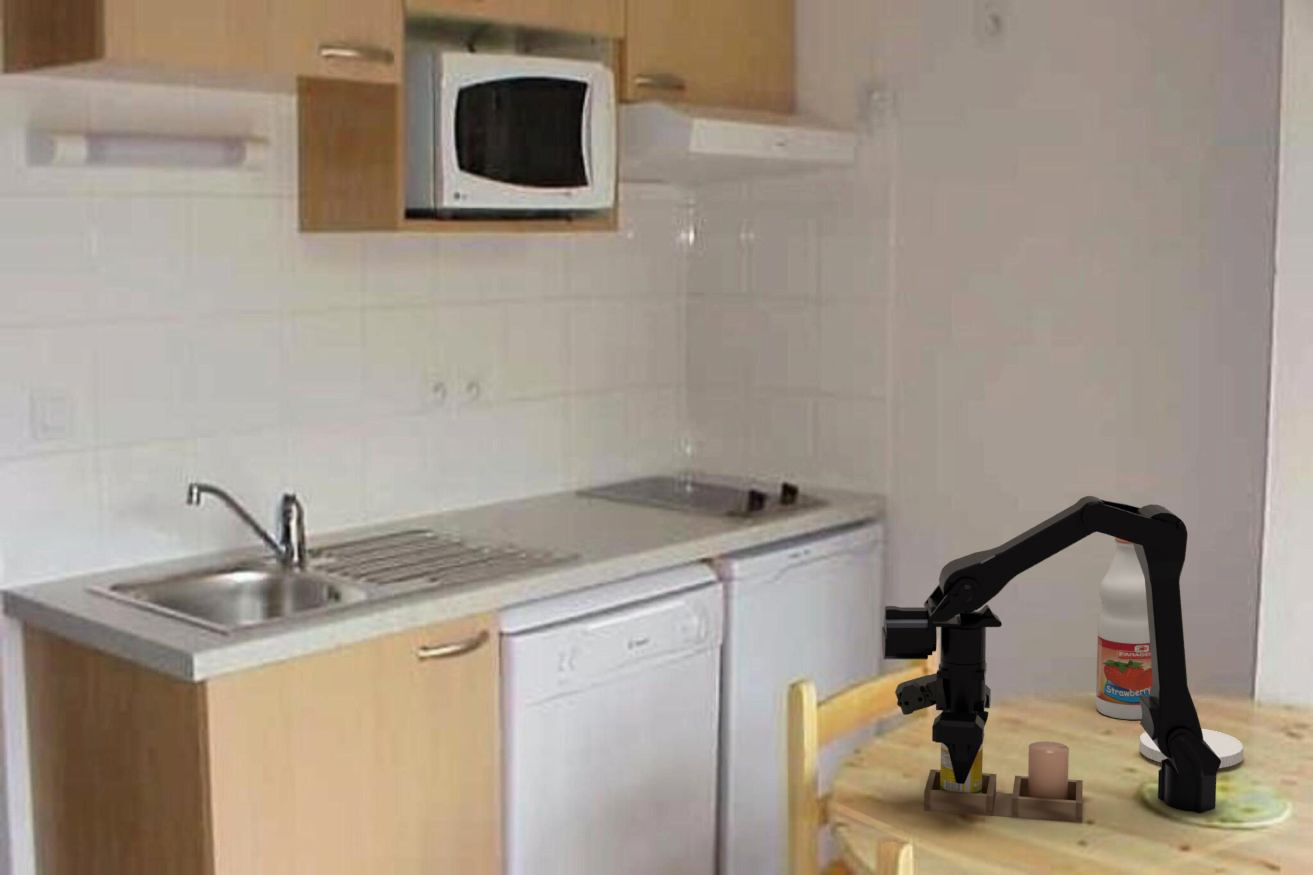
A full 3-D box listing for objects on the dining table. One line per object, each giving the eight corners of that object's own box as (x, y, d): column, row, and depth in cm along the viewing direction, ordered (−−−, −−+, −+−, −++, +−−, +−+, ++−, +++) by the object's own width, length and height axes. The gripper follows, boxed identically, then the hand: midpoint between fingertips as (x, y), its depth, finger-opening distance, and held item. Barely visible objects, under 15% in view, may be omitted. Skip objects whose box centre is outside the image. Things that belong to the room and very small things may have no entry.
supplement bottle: (946, 802, 209) (947, 730, 208) (935, 788, 214) (935, 717, 213) (987, 800, 209) (988, 728, 208) (975, 786, 215) (976, 715, 213)
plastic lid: (1264, 765, 228) (1265, 748, 227) (1189, 782, 222) (1189, 764, 221) (1191, 737, 240) (1191, 721, 240) (1117, 752, 234) (1118, 735, 234)
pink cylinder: (1075, 809, 208) (1077, 748, 207) (1049, 817, 206) (1050, 756, 205) (1045, 798, 213) (1046, 738, 211) (1019, 806, 210) (1020, 746, 209)
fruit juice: (1147, 701, 257) (1152, 527, 253) (1167, 720, 248) (1173, 539, 244) (1087, 703, 257) (1092, 528, 253) (1106, 721, 247) (1111, 540, 243)
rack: (1082, 806, 212) (1082, 780, 212) (1081, 830, 204) (1082, 803, 204) (930, 794, 217) (930, 769, 217) (924, 817, 209) (924, 791, 208)
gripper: (907, 637, 220) (907, 748, 222) (891, 675, 202) (891, 796, 204) (991, 641, 217) (990, 754, 220) (982, 680, 200) (981, 802, 202)
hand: (961, 775), depth 211 cm, fingers closed on supplement bottle, 5 cm apart
